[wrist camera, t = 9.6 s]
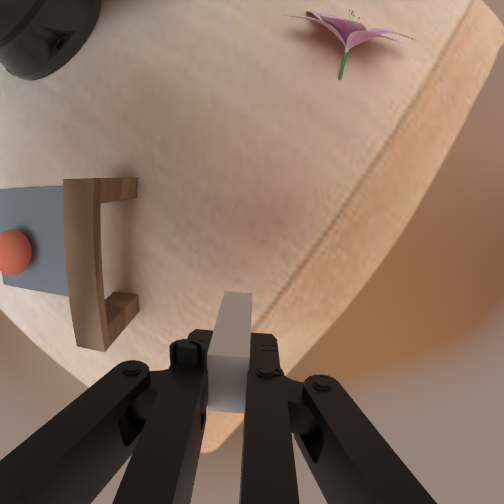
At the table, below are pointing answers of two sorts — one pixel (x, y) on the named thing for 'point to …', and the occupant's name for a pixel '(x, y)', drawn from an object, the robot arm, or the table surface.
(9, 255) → the ball
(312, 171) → the table surface
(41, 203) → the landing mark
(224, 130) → the table surface
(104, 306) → the bridge
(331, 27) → the lily
